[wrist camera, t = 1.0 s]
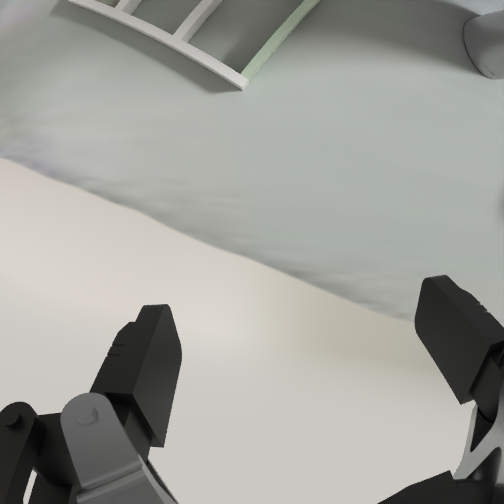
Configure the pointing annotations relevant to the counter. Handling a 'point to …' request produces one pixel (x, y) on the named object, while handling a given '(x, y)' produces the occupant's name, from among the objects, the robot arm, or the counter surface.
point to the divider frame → (189, 28)
